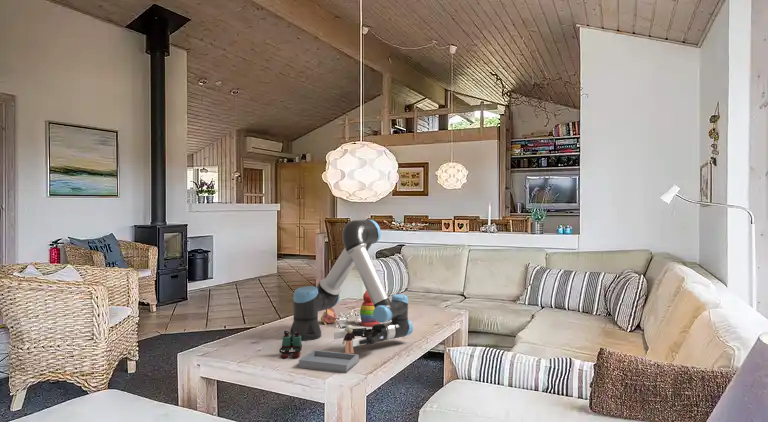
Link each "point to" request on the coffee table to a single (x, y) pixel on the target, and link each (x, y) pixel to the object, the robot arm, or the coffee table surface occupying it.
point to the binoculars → (291, 345)
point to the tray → (329, 361)
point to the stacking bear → (367, 312)
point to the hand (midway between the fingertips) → (343, 339)
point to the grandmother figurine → (349, 340)
